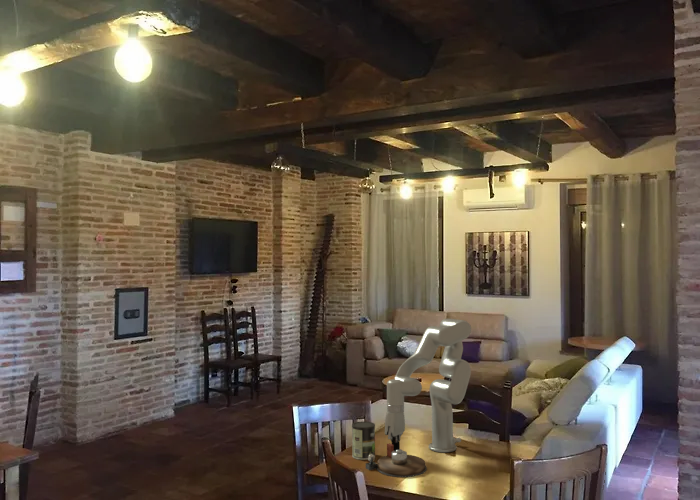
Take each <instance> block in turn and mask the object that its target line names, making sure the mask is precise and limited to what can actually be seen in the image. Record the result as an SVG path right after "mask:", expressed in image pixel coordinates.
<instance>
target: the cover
mask: <svg viewBox="0 0 700 500" xmlns="http://www.w3.org/2000/svg"><path fill="white" fill-rule="evenodd" d="M391 454H392V463H393V464H395V465H404V464H406V463H407V455H408V453H407V451H406V450H403V449H397V450H395V451H392V452H391Z"/></svg>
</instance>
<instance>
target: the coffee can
mask: <svg viewBox="0 0 700 500" xmlns="http://www.w3.org/2000/svg"><path fill="white" fill-rule="evenodd" d="M375 430H376V424H375V423H374V422H371V421H355V422H353V423H352V424H351V432H352V435H351V437H352V446H351V447H352V454H351V455H352V458H353V459H355V460H361V461H367V460H368V456H369V455H370V454H373V455H374V456H375V457H376V442H375V441H376V438H375V437H376V435H375V434H376V431H375ZM368 461H369V460H368Z"/></svg>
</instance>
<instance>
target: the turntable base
mask: <svg viewBox="0 0 700 500" xmlns="http://www.w3.org/2000/svg"><path fill="white" fill-rule="evenodd" d="M427 469H428V466H427V465H426V464H425V470H424V471H423V472H421V473H418V474H415V475H406V476H400V475H391V474H387V473H384V472H382V471H380V470H379V469H378V463H377V469H376V471H377V472H378V473H380V474H382V475H384V476H388V477H392V478H393V477H394V478H412V477H413V478H414V477H418V476H421V475H423V474H424V473H426V472H427Z"/></svg>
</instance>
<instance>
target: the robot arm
mask: <svg viewBox="0 0 700 500" xmlns="http://www.w3.org/2000/svg"><path fill="white" fill-rule="evenodd" d="M471 333H472V326H471V324H470V322H469V321H467V320H464V319H456V318H444V319H442V320H441V321H440V322H439V326H435V325H430V326H428V327H427V328H426V329H425V330H424V332H423V334H422V337H421V339H420V341H419V343H418V345H417V347H416V348H415V351H414V353H413V354H412V355H411V356H409V357H408V358H407V359H406V360H405V361H404V362H403V363H402V364H401V365H400V366H399V368H398V370H397V372H396V374H395V376H394V378H393V379H392V378H391V379H388V380H387V382H386V414H385V419H384V421H385V422H384V435H385V436H387V440H390V441H391V444H392V445H394V451H395V450H397V449H400V445H401V443H400V442H401V437H402V435H403V434H404V432H405V430H406V421H405V420H406V419H405V397H415V396H418V395H419V394H420V393H421V392H422V390H423V386H422V383H421V381H419V380H418V379H417V378H416V379H415V378H414V377H413V378H412V374H413V373H414V372H415V371H416V370H417V369H419V368H421V367H423V366H427V365H429V364H430V363H431V362H432V361H433V359H434V357H435V354H436V353H437V351H438V348H439V347H444V349H443V353H442V356H441V359H440V362H439V366H438V372H439V374H440V375H441V376H442V377H444V378H449V379H451V380H447V379H442V378H436V379H434V380H433V381H432V382H431V383H430V385H429V397H430V403H431V443H429V444H428V449H429V450H431V451H433V452H437V453H452V452H454V451H456V450H457V445H456V444H457V443H461V442H462V438H461V437H454V433H453V432H454V426H453V425H454V419H453V413H454V412H453V405H458V404H461V402H463V399H464V398H465V395H466V392H467V389H468V385H469V383H470V378H471V375H472V374H471V373H472V368H471V365H470V363H469V361H467V360H464V359H462V355H463V351H464V345H463V341H464V340H466V339H467V338H469V336H470V335H471Z"/></svg>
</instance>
